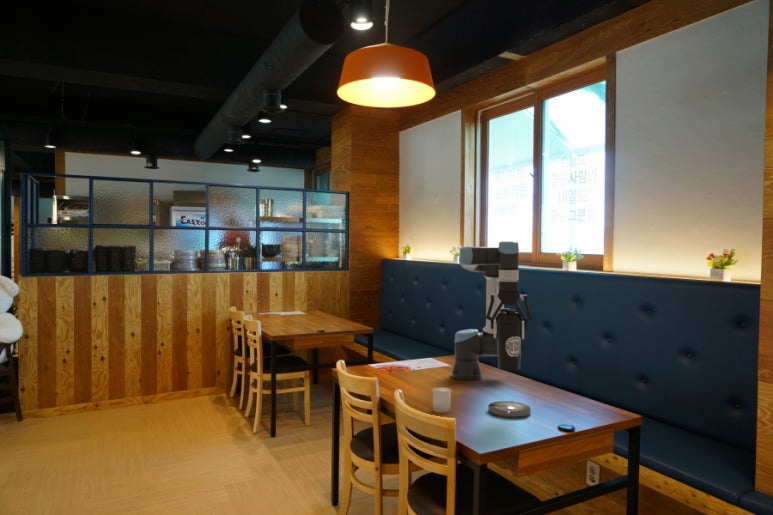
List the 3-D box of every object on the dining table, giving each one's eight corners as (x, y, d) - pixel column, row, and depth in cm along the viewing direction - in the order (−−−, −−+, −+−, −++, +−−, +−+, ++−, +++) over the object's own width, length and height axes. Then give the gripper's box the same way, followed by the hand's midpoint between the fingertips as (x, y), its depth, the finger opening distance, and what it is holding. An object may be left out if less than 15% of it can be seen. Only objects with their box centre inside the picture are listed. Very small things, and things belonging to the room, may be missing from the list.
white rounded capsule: (434, 406, 209) (434, 386, 209) (451, 407, 208) (451, 387, 207) (431, 411, 203) (431, 391, 202) (449, 413, 201) (449, 392, 201)
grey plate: (489, 404, 211) (489, 399, 211) (530, 407, 207) (530, 402, 207) (487, 417, 196) (487, 411, 196) (530, 420, 192) (530, 414, 192)
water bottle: (503, 371, 195) (503, 311, 194) (491, 366, 205) (490, 308, 204) (527, 370, 197) (527, 310, 197) (514, 364, 207) (514, 307, 207)
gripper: (478, 281, 200) (478, 338, 200) (539, 281, 194) (539, 340, 194) (480, 280, 207) (480, 335, 207) (538, 280, 201) (538, 337, 202)
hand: (508, 338), depth 201 cm, fingers closed on water bottle, 10 cm apart
